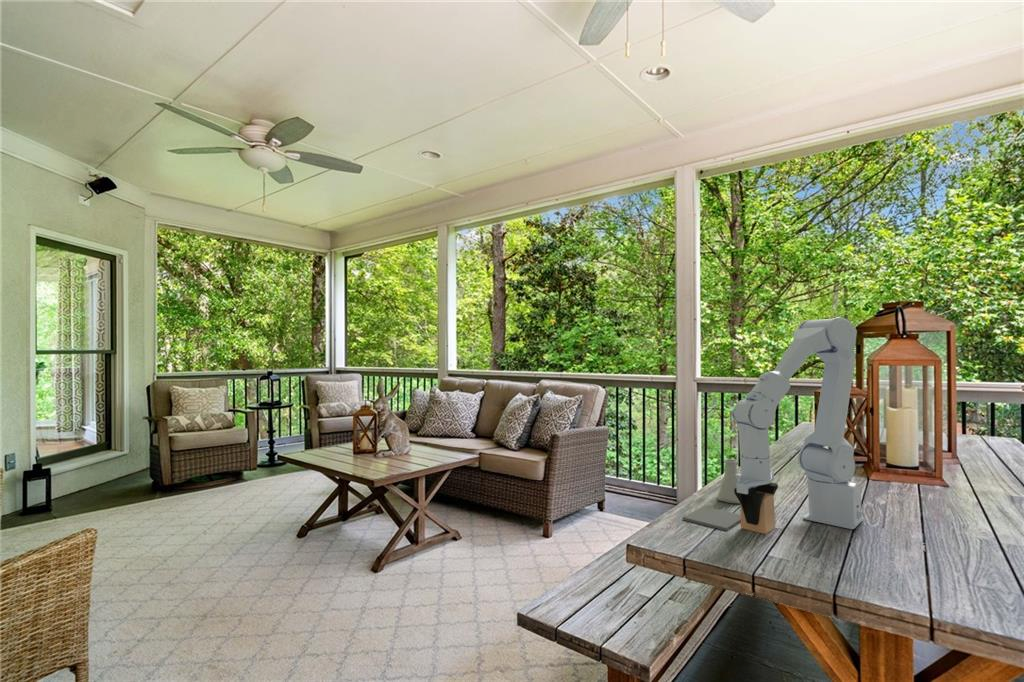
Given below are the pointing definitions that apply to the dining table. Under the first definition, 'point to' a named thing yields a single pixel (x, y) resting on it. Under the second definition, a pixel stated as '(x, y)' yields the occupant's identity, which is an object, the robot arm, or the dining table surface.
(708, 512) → the mat
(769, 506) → the light orange block
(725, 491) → the flask
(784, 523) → the dining table surface
